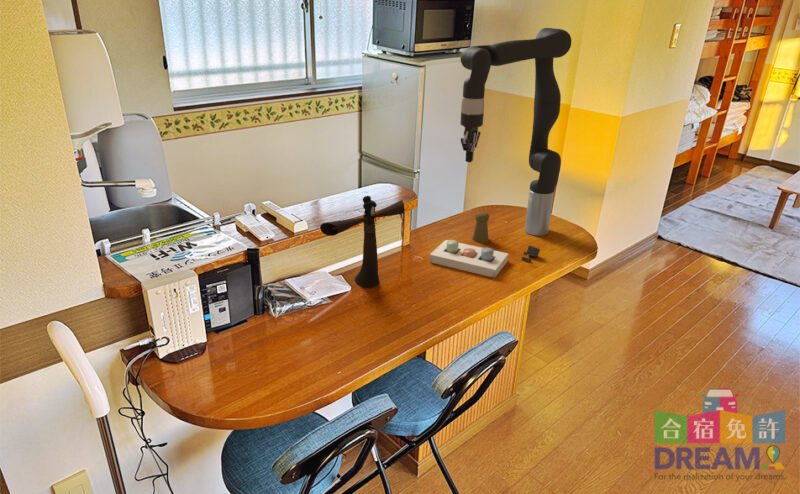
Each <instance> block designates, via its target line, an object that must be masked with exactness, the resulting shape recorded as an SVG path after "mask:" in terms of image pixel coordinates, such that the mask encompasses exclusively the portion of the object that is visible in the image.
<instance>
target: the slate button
mask: <svg viewBox="0 0 800 494" xmlns="http://www.w3.org/2000/svg"><path fill="white" fill-rule="evenodd" d="M481 248H482V249H481V258H480V260H483V261H487V262H492V261H493V260H494V259H493V253H494V251H495V250H494V249H493V248H491V247H481Z"/></svg>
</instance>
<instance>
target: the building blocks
mask: <svg viewBox="0 0 800 494" xmlns="http://www.w3.org/2000/svg"><path fill="white" fill-rule="evenodd" d="M540 252H541V248H537V247H535V246H531V245H528V247H527V250H526V251H523V254H522V255H523V256H521V260H522V261H526V262H528V263H532V259H531V258H528V257H527V256H531V257H535V258H538V257H539V254H540ZM525 256H526V257H525Z"/></svg>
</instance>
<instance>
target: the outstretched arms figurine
mask: <svg viewBox="0 0 800 494" xmlns="http://www.w3.org/2000/svg"><path fill="white" fill-rule="evenodd" d="M362 202H363V204H362V207H363V209H364V213H363V216H362V217H356V218H355V217H354V218H349V219H348V218H347V219H342V220H334V221H329V222H323V223H321V224H320V226H319V229H320V231H321V233H322V234H324V235H326V236H329V237H333V236H336V235H338V234H340V233H342V232H344V231H347V230H349V229H351V228H353V227H356V226H357V225H360V224H361V223H363V245H362V250H363V252H362V262H361V263H362V264H361V267H360V270H359V272H358V273H357V274H356V276H354V281H355V282H356V284H357V285H359V286H360V287H363V288H375V287H377V286H379V285H380V283H381V282H380V278H379V264H378V244H377V235H376V230H377V229H376V222H377V218H384V217H389V216H390V217H391V216H397V215H403V214H405V211H406V209H405V202H404V201H403V200H402V199H401V200H399V201H396V202H395V203H393V204H391V205H389V206H387V207H384V208H382V209H381V210H378V211H377V212H376V207H377V204H378V203H377V202H376V201H374V200H373V199H372V198H371V195H364V197H363V198H362Z"/></svg>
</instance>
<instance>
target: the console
mask: <svg viewBox="0 0 800 494" xmlns="http://www.w3.org/2000/svg"><path fill="white" fill-rule="evenodd" d="M449 240H450V239H449ZM449 240H448V239H445V240H444V241H442V243H441V244H439V245H438V246H437V247H436V248H435V249H433V251H432V252H431V253H430V254H429V263H432V264H436V265H440V266H444V267H449V268H452V269H456V270H460V271H464V272H469V273H473V274H477V275H482V276H485V277H489V278H490V277H491V278H494V279H495V278H496V277H497V275H498V274H499V273H500V272H501V271H502V269H503V268H504V267H505V265H506V264H507V263H508V261H509V253H506V252H502V251H500V250H494V253H493V261H492V262H487V261H483V260H481V249H482V248H483V247H482V246H476V245H472V244H467V243H462V242H458V253H457V254H452V253H448V252H446V245H447V241H449ZM466 248H472V249H474V250H475V251H476V252H475V257H474V258H470V257H465V256H463V250H464V249H466Z"/></svg>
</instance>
